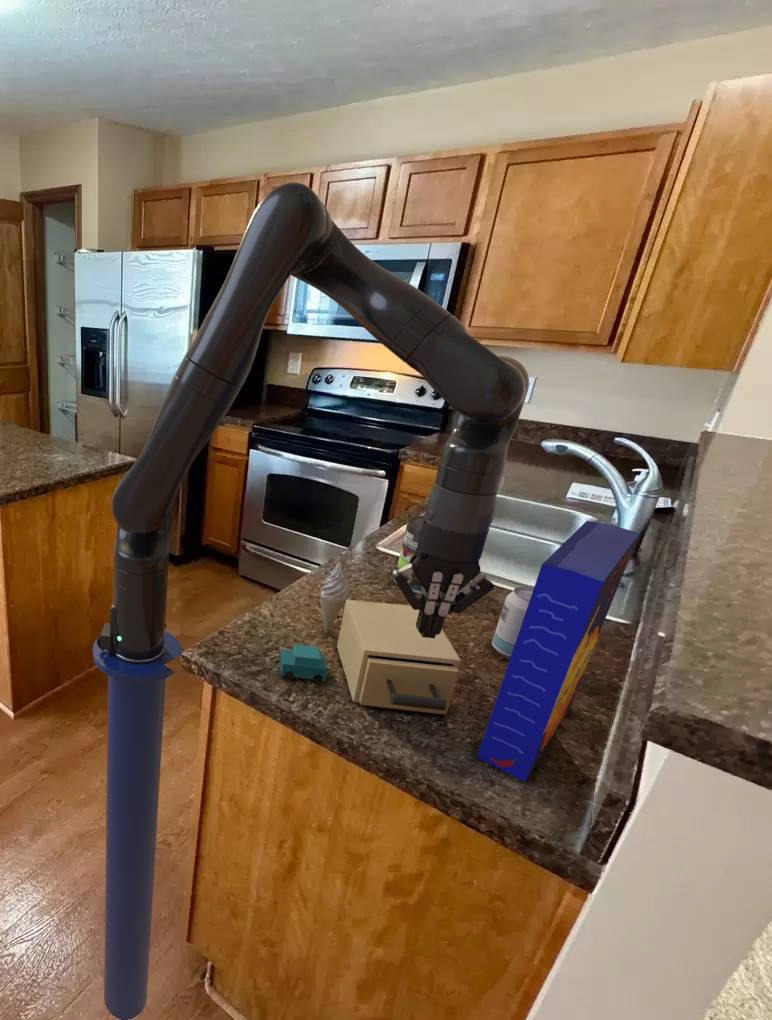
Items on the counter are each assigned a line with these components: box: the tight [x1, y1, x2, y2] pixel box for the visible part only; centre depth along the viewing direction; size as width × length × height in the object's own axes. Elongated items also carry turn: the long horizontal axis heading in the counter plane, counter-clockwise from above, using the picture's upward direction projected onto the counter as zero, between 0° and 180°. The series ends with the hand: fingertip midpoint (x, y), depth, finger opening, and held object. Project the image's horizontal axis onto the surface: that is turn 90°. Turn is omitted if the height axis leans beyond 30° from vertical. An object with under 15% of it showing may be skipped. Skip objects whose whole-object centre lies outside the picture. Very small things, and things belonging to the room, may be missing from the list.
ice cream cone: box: [318, 560, 351, 634], centre depth 108 cm, size 5×5×15 cm
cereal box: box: [476, 520, 641, 783], centre depth 81 cm, size 22×6×30 cm, turn 133°
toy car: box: [279, 644, 328, 683], centre depth 99 cm, size 4×7×4 cm, turn 81°
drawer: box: [358, 655, 460, 716], centre depth 93 cm, size 20×12×8 cm, turn 171°
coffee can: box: [393, 515, 424, 595], centre depth 127 cm, size 10×10×14 cm
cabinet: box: [336, 599, 462, 704], centre depth 97 cm, size 16×14×10 cm
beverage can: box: [491, 586, 534, 660], centre depth 104 cm, size 7×7×12 cm
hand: (426, 634), depth 83 cm, fingers closed
